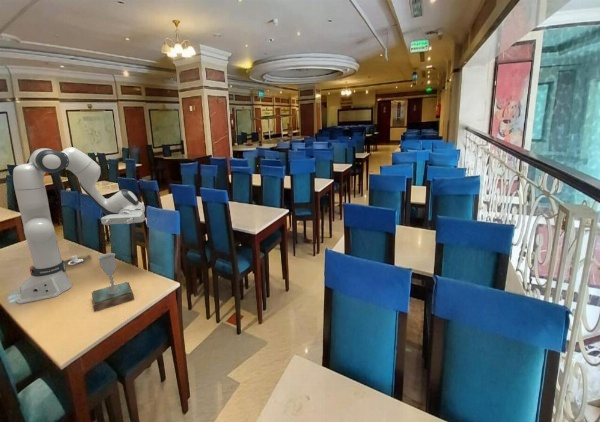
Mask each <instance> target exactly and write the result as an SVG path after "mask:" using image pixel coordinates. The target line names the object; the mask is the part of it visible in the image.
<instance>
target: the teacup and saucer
mask: <svg viewBox="0 0 600 422" xmlns="http://www.w3.org/2000/svg"><path fill="white" fill-rule="evenodd" d="M70 258H71V260H70V261H68V262H67V265H74V264H75V265H77V264H80V263H82V262H83V261H84V259H83V258H79V257H78V255H72V256H71V257H70Z"/></svg>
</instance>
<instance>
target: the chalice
mask: <svg viewBox="0 0 600 422" xmlns="http://www.w3.org/2000/svg"><path fill="white" fill-rule="evenodd" d="M115 257H116V253H114V252H110V253H109V252H108V253H104V254H101V255H99V256H98V257H97V259H98V260H99V264H100V269H101V271H103V272H104V274H105V275H107V276H109V280H110V282H109V284H110V285H111V287H110V286H109V287H110V288H109V290H108V294H115V293H117V292H119V291H120V289H119V288H118V286H115V285H116V284H114V283H115V281H114V280H113V279H114V277H113V274H114V273H115V270H116V265H117V262H116V258H115Z"/></svg>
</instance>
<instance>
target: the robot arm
mask: <svg viewBox="0 0 600 422" xmlns="http://www.w3.org/2000/svg"><path fill="white" fill-rule="evenodd" d="M63 169H66V170H69V171H70V172H71V173H73V175H75V176H76V177H77V178H78V180H79V186H80V187H81V189H82V190H83V192H85V194H86V195H87V196H88V197H90V199H91V200H92V201H93V202H94V203H95V204H96V205H97V206H98V207H99V208H100V210H101V211H102V213H103V214H104V215H105V216H103V217H101V218H100V222H101V224H102V225H105V226H110V225H117V224H118V225H119V224H125V225H130V224H135V223H136V224H138V223H143V222H144V221H145V220H146V216H145V215H146V214H145V211H146V207H145V205H144V203H142V202H140V201H139V198H138V197H137V195H136V194H135V193H134V192H133V191H132V190H129V189H124V188H122V189H120V190H119V191H117V192H116V193H115V194H113V195H111V196H110V197H109V198H105V197H104V196H103V195H102V193H100V191H99V190H98V189H97V188H96V183H97V182H98V180H99V179H100V176H101V173H102V172H101V167H100V165H99V164H98V163H97V162H96V161H94V160H93V158H92V157H90V156H88V155H87V154H86V153H85V152H82V151H81V150H80V149H78V148H76V147H72V146H71V147H66V148H64V149H63V150H61V151H59V150H58V151H57V150H54V149H52V148H45V147H41V148H36V149H34V150H33V151H32V152H31V153H30V155H29V157H28V159H27V161H26V163H22V164H19V165H17V166H15V167H14V168H13V170H12V171H13V172H12V176H13V177H12V178H13V179H12V180H13V186H14V192H15V193H14V194H15V196H16V200H17V201H16V202H17V205H18V210H19V212H20V218H21V221H22V226H23V233H24V237H25V240H26V242H27V247H28V250H29V253H30V255H31V260H32V263H33V265H31V266H30V267H29V273H30V276H29V277H28V278H26V280H24V281H23V282H22V284H20V287H19V293H17V295H16V296H15V302H16V304H19V305H22V304H26V303H31V302H36V301H42V300H46V299H51V298H55V297H58V296H60V295H61V294H62V293H64V292H66V291H68V290H69V289H71V288H72V287H73V283H72V282H71V280H70V278H69V277H68V275H67V273H66V264H65V262H64V260H63V258H62V255H61V250H60V247H59V243H58V239H57V235H56V231H55V226H54V224H53V221H52V217H51V211H50V207H49V206H50V205H49V199H48V194H47V190H46V185H45V184H46V183H45V181H44V180H45V179H44V178H45V175H46V173H50V174H53V173H56V172H60V171H61V170H63Z"/></svg>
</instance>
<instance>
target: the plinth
mask: <svg viewBox="0 0 600 422" xmlns="http://www.w3.org/2000/svg"><path fill="white" fill-rule="evenodd" d="M114 285H115V286H118V288H119V289H120V291H119V292H117V293H115V294H108V290H109V288H110V287H111V286H110V285H109V286H106V287H103V288H100V289H96V290H93V291H92V292H91V299H92V304H93V308H94V309H93V310H94V312H98V311H102V310H105V309H107V308H111V307H112V308H113V307H115V306H117V305H120V304H121V305H122V304H124V303H128V302H130V301H131V302H132V301H134V300H135V295H134V293H133V289H132V287H131V284H130V282H129V281H125V282H121V283H118V284H114Z"/></svg>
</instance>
